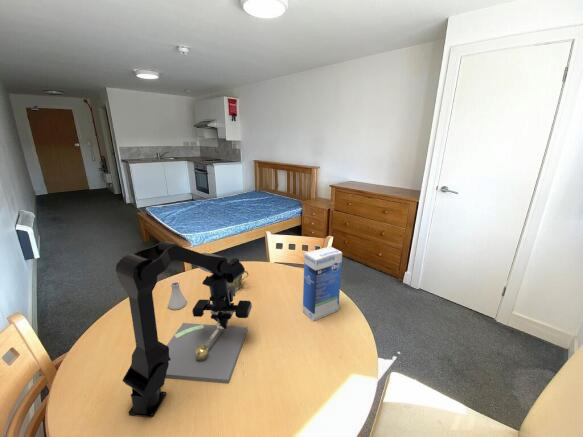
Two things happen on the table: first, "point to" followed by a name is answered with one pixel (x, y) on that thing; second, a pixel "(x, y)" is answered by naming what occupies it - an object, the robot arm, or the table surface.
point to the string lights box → (321, 282)
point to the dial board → (219, 354)
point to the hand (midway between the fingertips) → (225, 328)
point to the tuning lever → (208, 344)
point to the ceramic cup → (237, 282)
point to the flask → (176, 297)
